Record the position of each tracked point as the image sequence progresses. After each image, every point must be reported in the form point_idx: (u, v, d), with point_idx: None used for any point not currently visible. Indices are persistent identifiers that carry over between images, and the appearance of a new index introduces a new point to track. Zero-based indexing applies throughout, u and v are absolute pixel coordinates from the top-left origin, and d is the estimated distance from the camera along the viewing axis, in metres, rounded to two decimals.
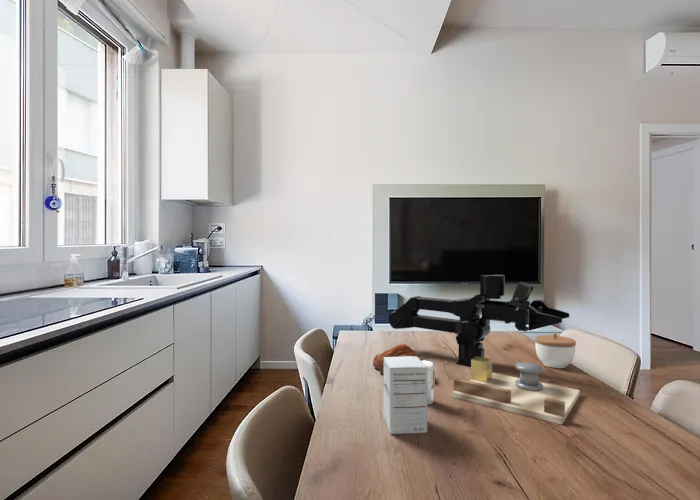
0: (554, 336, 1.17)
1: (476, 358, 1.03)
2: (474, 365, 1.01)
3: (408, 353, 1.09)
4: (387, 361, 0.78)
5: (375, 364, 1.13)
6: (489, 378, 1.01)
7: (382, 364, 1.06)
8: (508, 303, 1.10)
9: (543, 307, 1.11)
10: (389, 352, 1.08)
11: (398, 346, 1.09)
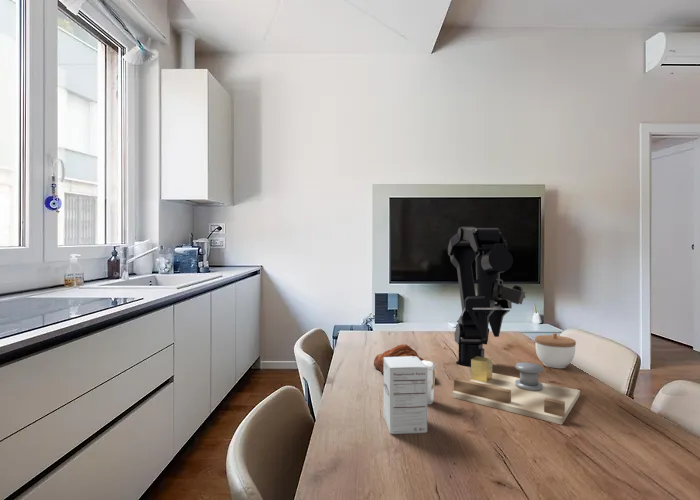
0: (554, 336, 1.17)
1: (476, 358, 1.03)
2: (474, 365, 1.01)
3: (409, 353, 1.09)
4: (387, 361, 0.78)
5: (376, 364, 1.13)
6: (489, 378, 1.01)
7: (383, 364, 1.06)
8: (495, 282, 0.99)
9: (501, 311, 1.05)
10: (390, 352, 1.08)
11: (399, 346, 1.10)
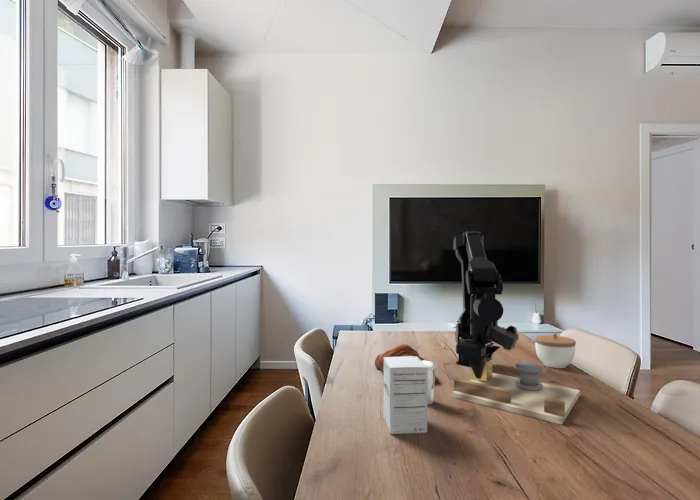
0: (554, 336, 1.17)
1: None
2: None
3: (410, 353, 1.09)
4: (387, 361, 0.78)
5: (377, 364, 1.13)
6: (489, 378, 1.01)
7: None
8: (489, 325, 0.98)
9: (491, 349, 1.03)
10: (391, 352, 1.08)
11: (400, 346, 1.10)
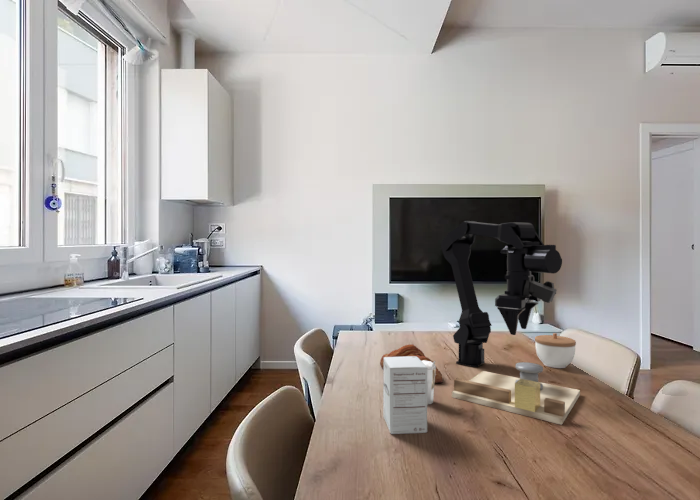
0: (554, 336, 1.17)
1: (520, 381, 0.85)
2: (519, 390, 0.84)
3: (415, 353, 1.09)
4: (387, 361, 0.78)
5: (382, 364, 1.13)
6: (537, 406, 0.83)
7: None
8: (527, 279, 0.99)
9: (530, 304, 1.06)
10: (397, 352, 1.08)
11: (405, 346, 1.10)
